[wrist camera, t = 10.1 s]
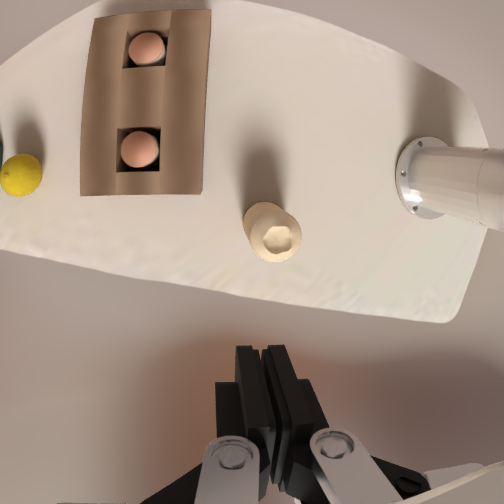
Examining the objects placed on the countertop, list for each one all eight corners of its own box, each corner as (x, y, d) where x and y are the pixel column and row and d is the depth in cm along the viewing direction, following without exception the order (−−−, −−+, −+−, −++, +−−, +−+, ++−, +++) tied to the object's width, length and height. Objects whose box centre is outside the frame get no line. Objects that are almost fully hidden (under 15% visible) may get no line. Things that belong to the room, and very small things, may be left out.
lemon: (57, 161, 36) (27, 162, 29) (44, 198, 38) (14, 207, 30) (28, 148, 35) (-3, 148, 28) (17, 184, 36) (-15, 190, 29)
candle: (261, 192, 41) (276, 201, 32) (293, 219, 42) (315, 236, 33) (233, 225, 42) (240, 244, 32) (265, 251, 43) (280, 276, 34)
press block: (211, 28, 34) (211, 9, 29) (202, 190, 40) (200, 194, 34) (108, 34, 33) (94, 18, 27) (97, 191, 38) (80, 196, 33)
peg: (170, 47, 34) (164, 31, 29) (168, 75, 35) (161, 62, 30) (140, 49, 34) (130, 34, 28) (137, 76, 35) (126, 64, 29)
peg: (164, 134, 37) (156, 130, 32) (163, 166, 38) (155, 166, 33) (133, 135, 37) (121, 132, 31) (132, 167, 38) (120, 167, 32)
